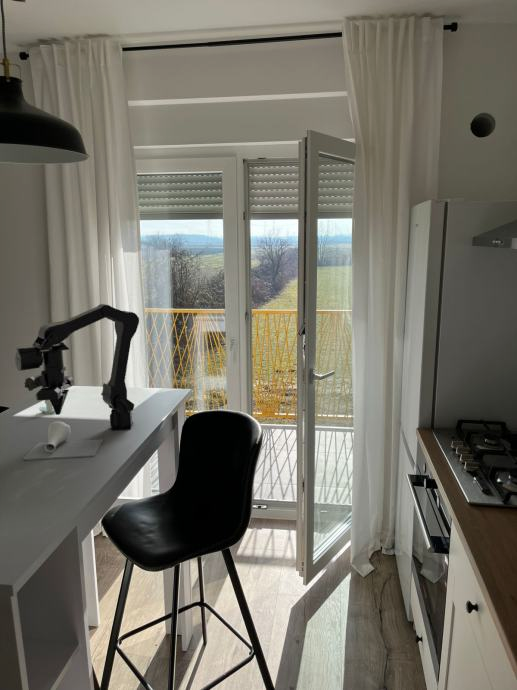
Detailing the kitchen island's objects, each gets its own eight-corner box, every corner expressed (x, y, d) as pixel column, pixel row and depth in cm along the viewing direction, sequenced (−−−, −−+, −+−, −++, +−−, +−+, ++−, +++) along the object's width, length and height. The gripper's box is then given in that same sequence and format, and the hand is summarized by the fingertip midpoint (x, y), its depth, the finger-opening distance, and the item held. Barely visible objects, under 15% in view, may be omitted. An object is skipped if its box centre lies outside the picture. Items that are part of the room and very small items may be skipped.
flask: (46, 437, 168) (35, 455, 158) (50, 418, 165) (39, 434, 156) (69, 443, 169) (60, 460, 160) (73, 423, 167) (64, 440, 157)
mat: (103, 440, 168) (102, 439, 168) (93, 456, 156) (93, 455, 156) (38, 443, 167) (37, 442, 167) (23, 460, 154) (23, 458, 154)
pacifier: (43, 410, 202) (38, 415, 196) (41, 394, 201) (36, 398, 195) (63, 410, 203) (58, 414, 197) (61, 394, 202) (57, 397, 196)
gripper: (36, 360, 172) (41, 406, 175) (15, 373, 154) (21, 425, 156) (71, 358, 173) (75, 405, 176) (55, 372, 154) (59, 423, 157)
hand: (58, 414), depth 166 cm, fingers closed
